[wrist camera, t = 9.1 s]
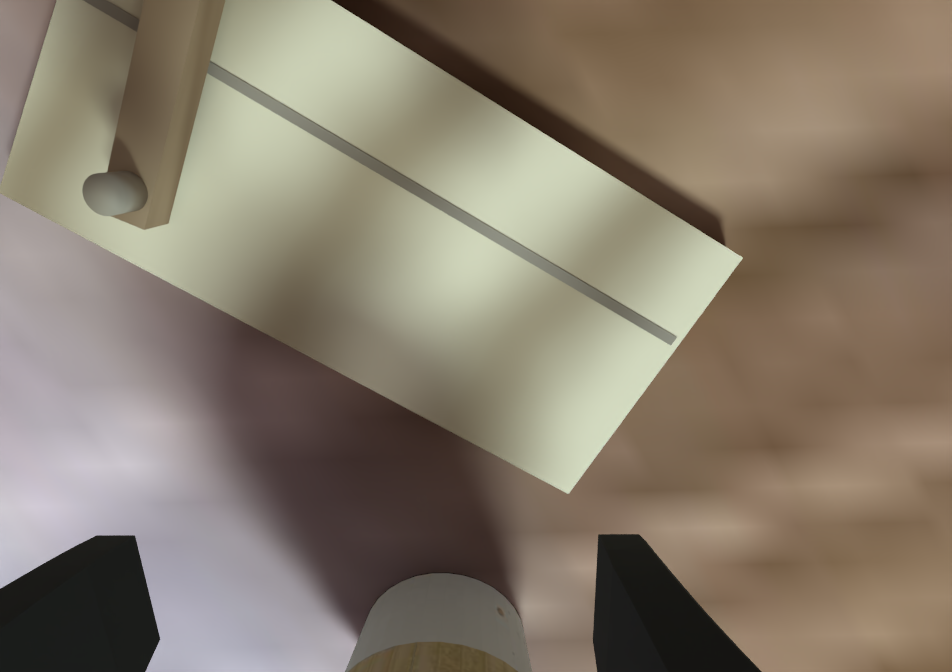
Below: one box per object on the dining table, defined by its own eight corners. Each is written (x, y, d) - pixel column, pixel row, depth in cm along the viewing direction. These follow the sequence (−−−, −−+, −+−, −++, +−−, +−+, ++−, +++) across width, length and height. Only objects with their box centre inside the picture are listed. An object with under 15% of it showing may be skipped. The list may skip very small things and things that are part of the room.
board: (726, 250, 18) (743, 258, 17) (564, 474, 20) (568, 494, 19) (130, -123, 15) (99, -145, 14) (30, 188, 18) (-3, 192, 16)
